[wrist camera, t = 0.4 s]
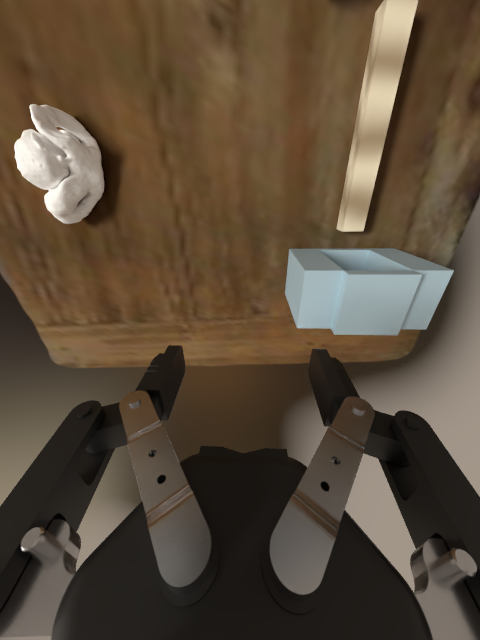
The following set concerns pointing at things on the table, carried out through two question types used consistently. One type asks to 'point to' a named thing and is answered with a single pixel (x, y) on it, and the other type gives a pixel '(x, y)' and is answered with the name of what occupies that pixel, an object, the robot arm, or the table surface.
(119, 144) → the table surface
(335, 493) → the robot arm
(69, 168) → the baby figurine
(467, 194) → the table surface
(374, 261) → the light blue notched block
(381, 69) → the long cream stick
